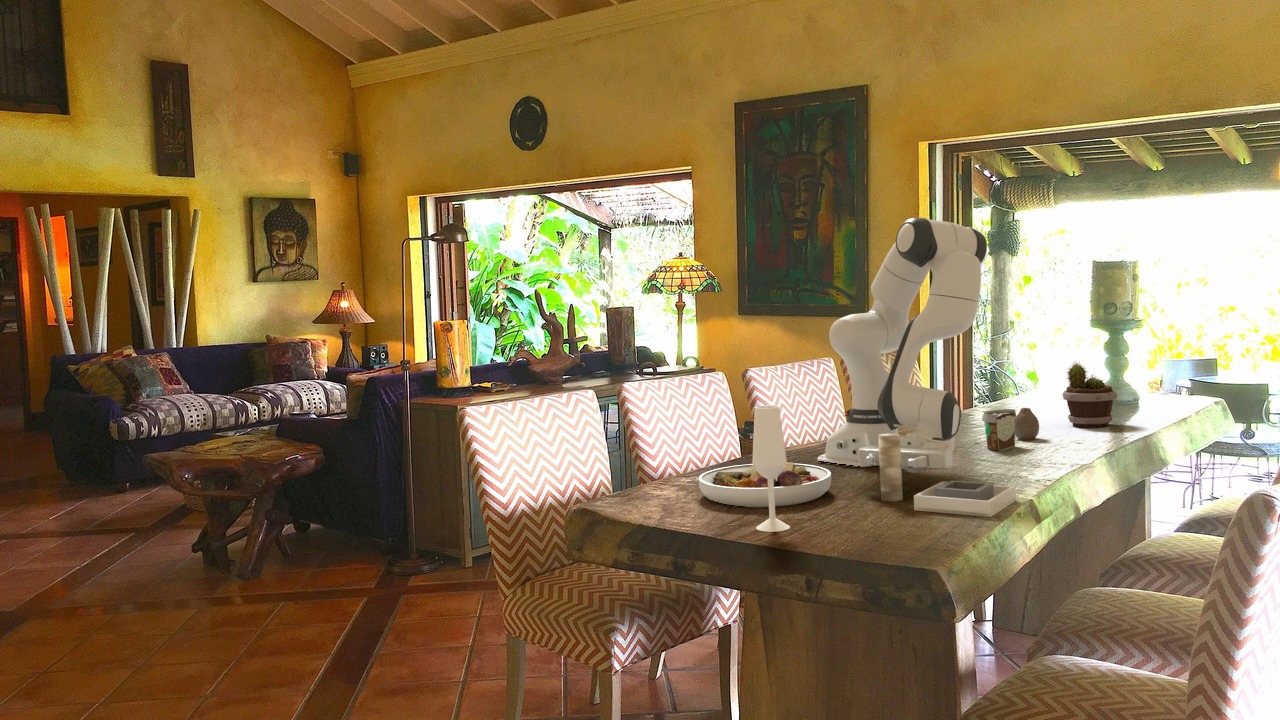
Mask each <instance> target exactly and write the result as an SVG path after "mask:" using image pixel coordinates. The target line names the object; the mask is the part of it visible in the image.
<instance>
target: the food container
mask: <svg viewBox="0 0 1280 720" xmlns="http://www.w3.org/2000/svg"><path fill="white" fill-rule="evenodd" d="M1016 416H1017V411H1016V408H1015V409H1013V408H1010V409H1005V408H1004V409H992V410H991V409H990V410H986V411H984V412H983V414H982V417H981V421H982V422H984V429H985V439H986V446H987V450H988V451H991V452H997V453H998V452H999V453H1000V452H1002V451H1006V450H1008V449H1011V448H1015V446H1016V435H1015V417H1016Z"/></svg>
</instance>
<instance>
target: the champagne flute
mask: <svg viewBox="0 0 1280 720" xmlns="http://www.w3.org/2000/svg"><path fill="white" fill-rule="evenodd" d="M753 415H754V418H753V439H752V463H751V464H753V466H754V467H755V469H756V470H757V471H758V472H759V473H760V474H761V475H762V476H763V477H765V478H766V479H768V498H769V507H768V511H769V512H768V514H769V517H768V518H767V519H766V520H765V521H763V522H762V523H760V524H759V525H758V526H756V527H755V529H756V530H758V531H760V532H771V533H772V532H773V533H774V532H783V531H786V530H789V529H791V526H790V525H788V524H787V523H785V522H783V521H782V520H780V519H778V518H777V517H776V507H775V498H774V478H776V477H777V476H778V475H779V474H780V473H781V472H782V471H783V469H784V468H785V466H786V464H787V462H788V461H787V459H788V458H787V452H786V447H785V446H786V445H785V441H784V440H785V439H784V431H783V426H782V420H781V412H780V406H779V405H776V404H775V405H772V404H771V405H758V406H754V414H753Z"/></svg>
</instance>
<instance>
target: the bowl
mask: <svg viewBox="0 0 1280 720" xmlns="http://www.w3.org/2000/svg"><path fill="white" fill-rule="evenodd" d="M831 483H832V472H831V470H829V469H827V468H824V467H821V466H817V465H812V464H804V463H794V462H793V461H791V462H788V461H787V464H786V466H785V468H784V469H783V471H782V472H781V473H780V474H779V475H778V476H777V477H776V478H774V498H775V508H776V507H777V506H778V507H786V506H794V505H800V504H803V503H804V504H805V503H808V502H811V501H814V500H816V499H818V498H820V497H822V496H823V495H824V494H825V493H826V492H827V491H828V490H829V488H830V486H831ZM698 486H699V488H700V489H699V490H700V491H701V493H702V495H703V496H705V497H706V498H707V499H708V500H710V501H712V500H713V501H712V502H714V501H715V502H714V503H716V502H719V503H724V504H730V505H735V506H734V507H737V506H745V507H744V508H769V498H768V479H766V478H765V477H763V476H762V475H761V474H760V473H759V472H758V471H757V470H756V469H755V467H754V466H753V463H750V464H740V465H732V466H725V467H719V468H715V469H711V470H708V471H706V472H703V473H702V474H700V475H699V476H698ZM719 503H718V504H719Z"/></svg>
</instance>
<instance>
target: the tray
mask: <svg viewBox="0 0 1280 720" xmlns="http://www.w3.org/2000/svg"><path fill="white" fill-rule="evenodd" d="M1016 494H1017V493H1016V486H1013V485H1012V486H1011V485H998V484H994V482H982V481H981V482H980V481H979V482H978V481H966V480H953V479H952V480H949V481H943V480H942V481H940V482H938V483H935V484H934V485H932V486H930V487H928V488H926V489H924V490H922V491H920V492H918V493H916V494H914V495H913V507H914V508H913V510H914V511H921V512H933V513H942V514H944V513H945V514H955V515H965V516H978V517H987V518H988V517H989V518H991V517H993V516H995V515H997V514H998V513H999V512H1000V511H1003V510H1004V509H1006V508H1007V507H1008V506H1010V505H1012V504H1013V503H1015V502H1016V501H1017V495H1016Z"/></svg>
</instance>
